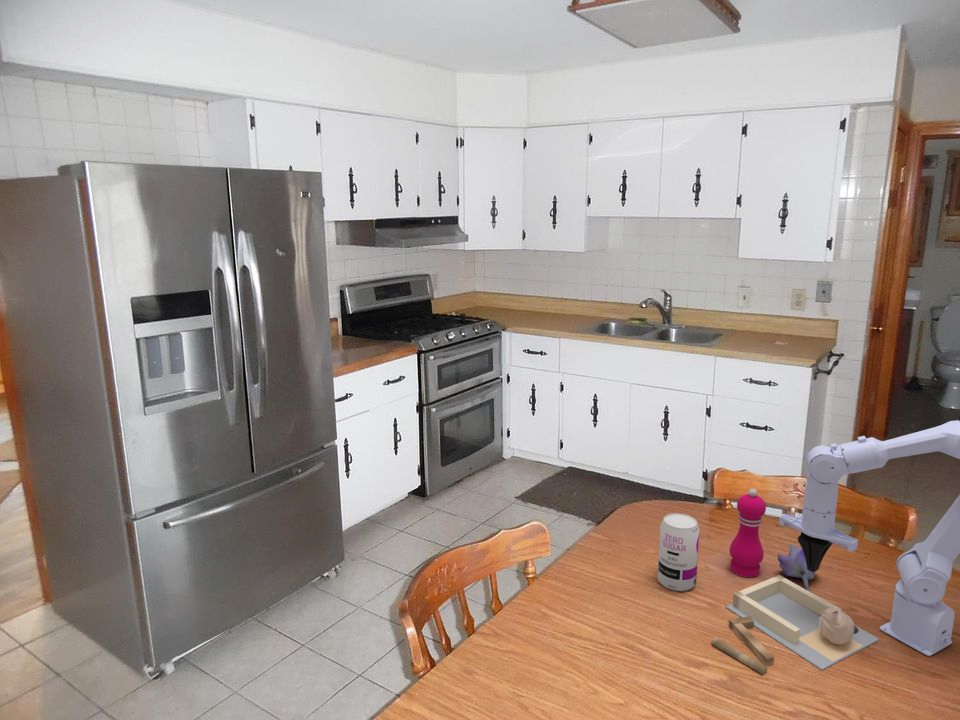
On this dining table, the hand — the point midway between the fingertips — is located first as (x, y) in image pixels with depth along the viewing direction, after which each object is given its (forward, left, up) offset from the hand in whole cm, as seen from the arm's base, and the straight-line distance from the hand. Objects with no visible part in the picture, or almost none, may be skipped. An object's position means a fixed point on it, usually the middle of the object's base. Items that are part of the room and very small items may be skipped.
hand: (812, 569), depth 135 cm
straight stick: (-2, +24, -10) cm, 26 cm away
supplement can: (+22, +14, -11) cm, 28 cm away
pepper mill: (+18, -3, -11) cm, 21 cm away
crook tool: (-1, +16, -10) cm, 19 cm away
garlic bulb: (-8, +3, -10) cm, 13 cm away
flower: (+9, -10, -11) cm, 17 cm away
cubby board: (-1, +4, -10) cm, 11 cm away
